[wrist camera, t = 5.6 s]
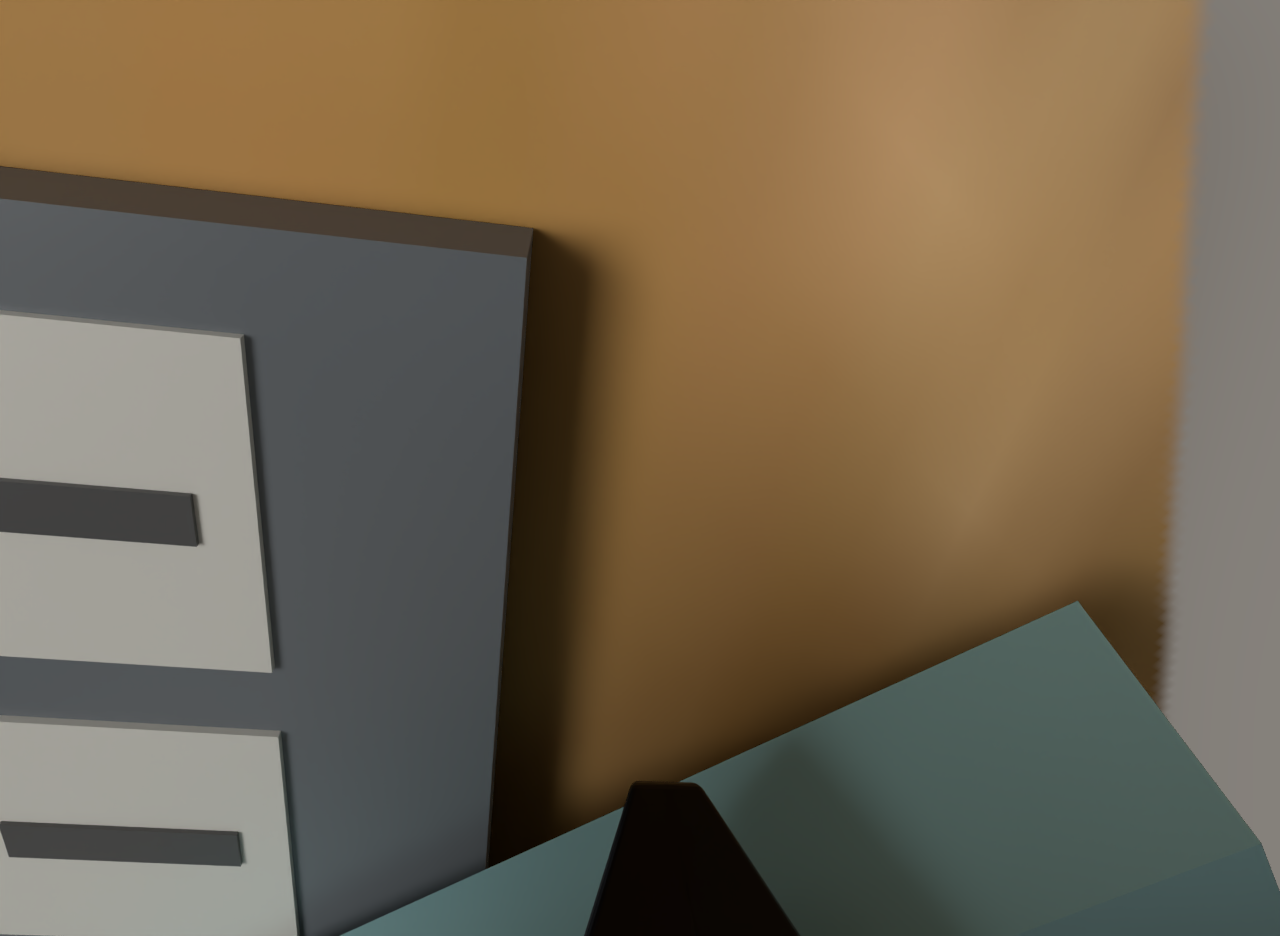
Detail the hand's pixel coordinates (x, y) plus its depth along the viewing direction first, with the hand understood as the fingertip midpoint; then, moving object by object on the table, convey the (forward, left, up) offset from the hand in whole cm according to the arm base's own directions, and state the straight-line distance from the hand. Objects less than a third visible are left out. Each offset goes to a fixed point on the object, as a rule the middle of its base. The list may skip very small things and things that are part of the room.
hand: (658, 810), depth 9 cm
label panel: (-6, -1, -3) cm, 7 cm away
